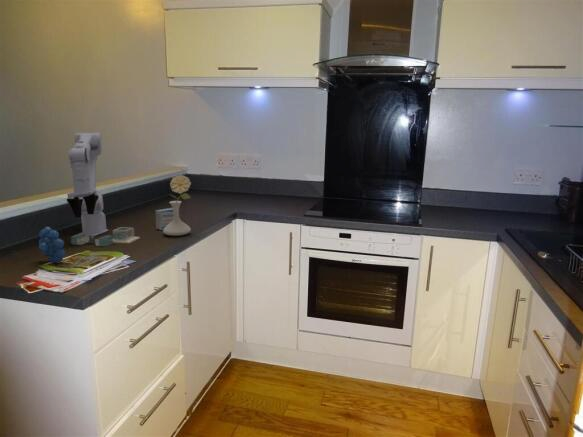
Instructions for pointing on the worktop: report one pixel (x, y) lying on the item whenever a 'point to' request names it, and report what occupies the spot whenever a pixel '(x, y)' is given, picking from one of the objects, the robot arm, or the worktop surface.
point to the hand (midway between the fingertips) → (84, 215)
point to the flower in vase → (176, 225)
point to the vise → (91, 240)
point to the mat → (127, 241)
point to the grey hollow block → (123, 234)
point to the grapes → (51, 245)
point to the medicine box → (163, 218)
